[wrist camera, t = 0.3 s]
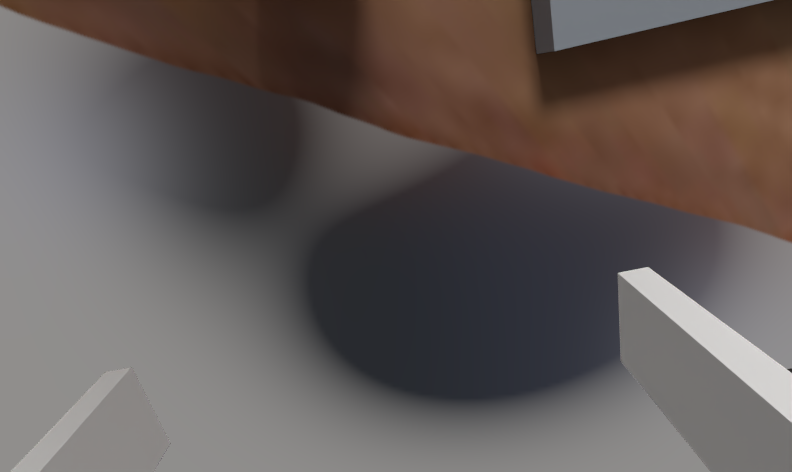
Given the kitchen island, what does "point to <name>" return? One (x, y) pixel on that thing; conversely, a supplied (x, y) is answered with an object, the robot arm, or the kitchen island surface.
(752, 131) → the kitchen island surface
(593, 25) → the keyhole board
